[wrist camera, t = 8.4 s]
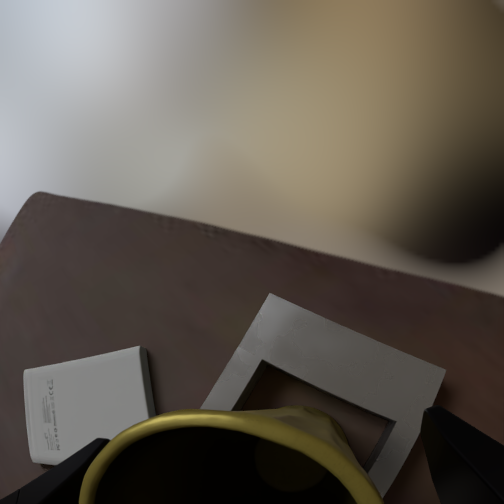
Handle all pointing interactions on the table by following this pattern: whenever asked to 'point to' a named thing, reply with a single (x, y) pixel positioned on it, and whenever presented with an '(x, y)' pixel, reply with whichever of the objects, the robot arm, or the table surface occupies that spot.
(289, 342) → the grey flat frame
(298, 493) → the vase
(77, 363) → the external hard drive
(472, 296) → the table surface
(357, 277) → the table surface
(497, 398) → the table surface
